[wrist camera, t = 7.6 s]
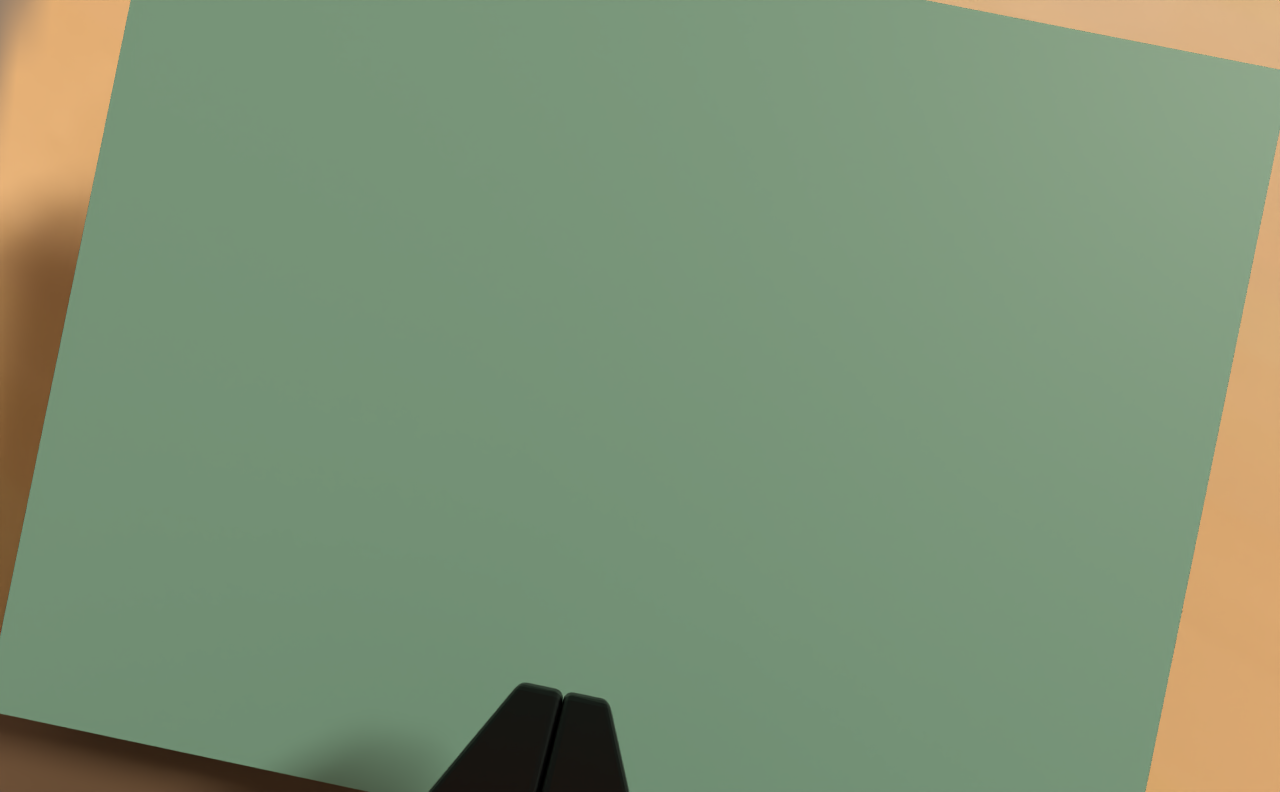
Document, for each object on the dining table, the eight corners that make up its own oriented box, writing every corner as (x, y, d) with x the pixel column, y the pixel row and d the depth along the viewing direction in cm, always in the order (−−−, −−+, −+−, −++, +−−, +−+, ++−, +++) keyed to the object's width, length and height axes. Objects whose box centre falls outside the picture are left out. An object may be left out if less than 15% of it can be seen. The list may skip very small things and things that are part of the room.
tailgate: (1113, 950, 12) (1357, -252, 12) (-16, 710, 12) (227, -468, 12) (1052, 876, 13) (1263, -164, 13) (74, 669, 14) (283, -353, 14)
